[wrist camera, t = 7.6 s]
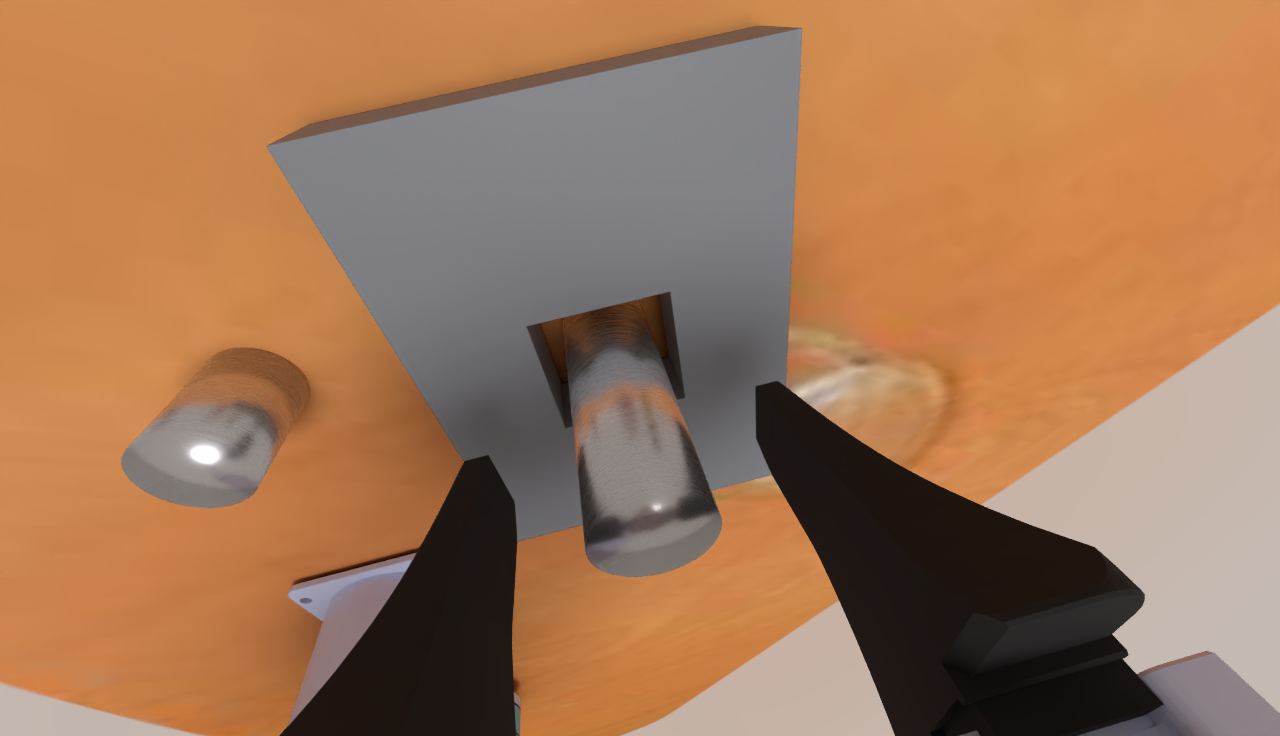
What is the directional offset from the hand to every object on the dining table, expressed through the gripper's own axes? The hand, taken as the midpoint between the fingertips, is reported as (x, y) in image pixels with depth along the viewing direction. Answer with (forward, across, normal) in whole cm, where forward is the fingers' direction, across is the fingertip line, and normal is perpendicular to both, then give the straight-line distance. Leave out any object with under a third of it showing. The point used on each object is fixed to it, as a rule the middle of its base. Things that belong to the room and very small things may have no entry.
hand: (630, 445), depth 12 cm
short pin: (+6, +12, -1) cm, 13 cm away
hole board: (+6, 0, 0) cm, 6 cm away
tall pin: (+6, 0, 0) cm, 6 cm away
